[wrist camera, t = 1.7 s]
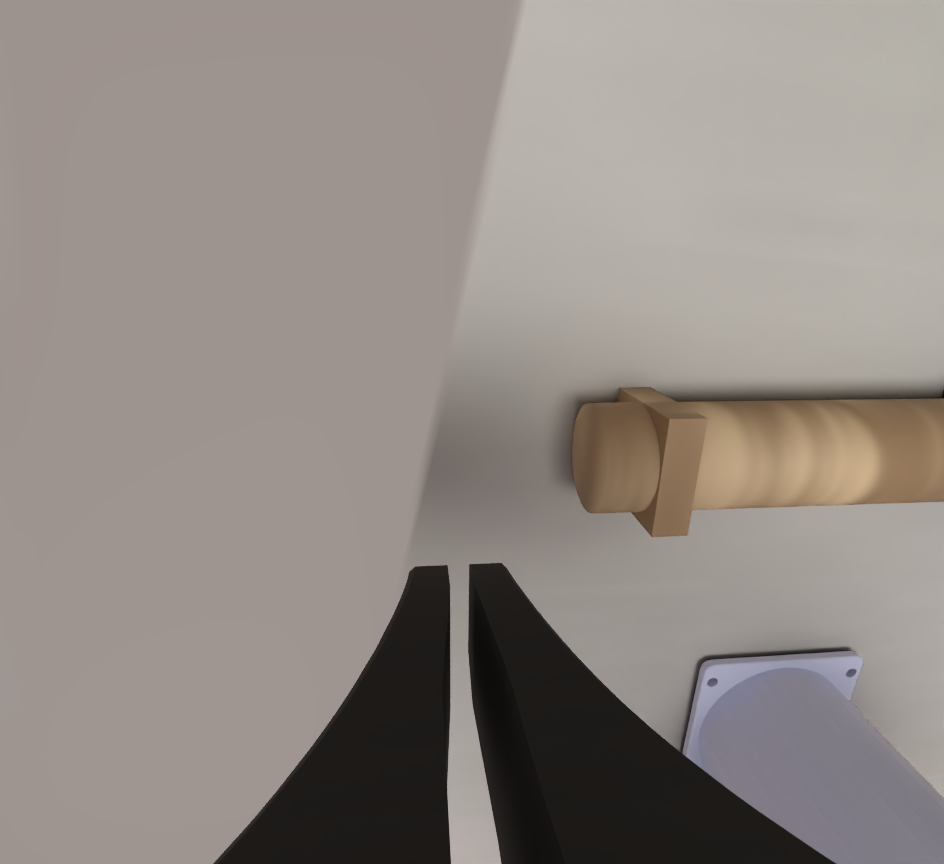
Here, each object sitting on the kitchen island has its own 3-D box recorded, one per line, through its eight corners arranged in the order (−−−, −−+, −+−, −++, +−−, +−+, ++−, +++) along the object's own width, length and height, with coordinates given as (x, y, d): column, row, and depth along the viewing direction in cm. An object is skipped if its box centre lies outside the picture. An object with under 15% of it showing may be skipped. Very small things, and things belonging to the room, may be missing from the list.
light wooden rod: (1008, 383, 20) (1147, 411, 16) (974, 474, 21) (1095, 519, 17) (576, 387, 18) (615, 419, 14) (567, 485, 19) (602, 538, 16)
